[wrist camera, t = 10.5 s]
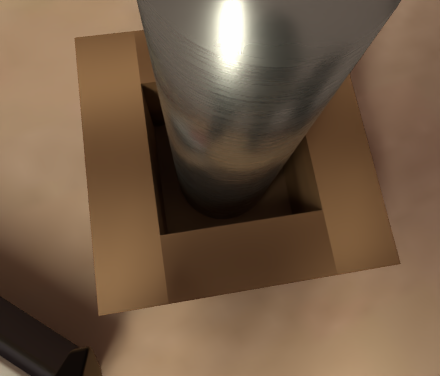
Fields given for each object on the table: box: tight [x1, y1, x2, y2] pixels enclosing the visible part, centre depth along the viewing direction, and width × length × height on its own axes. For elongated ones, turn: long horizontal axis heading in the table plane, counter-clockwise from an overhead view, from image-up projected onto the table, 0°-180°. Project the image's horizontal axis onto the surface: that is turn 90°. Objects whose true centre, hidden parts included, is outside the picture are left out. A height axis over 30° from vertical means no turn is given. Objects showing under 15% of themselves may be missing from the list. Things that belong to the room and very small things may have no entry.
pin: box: [137, 0, 401, 219], centre depth 11 cm, size 4×4×12 cm
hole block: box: [75, 30, 401, 316], centre depth 16 cm, size 10×10×5 cm
